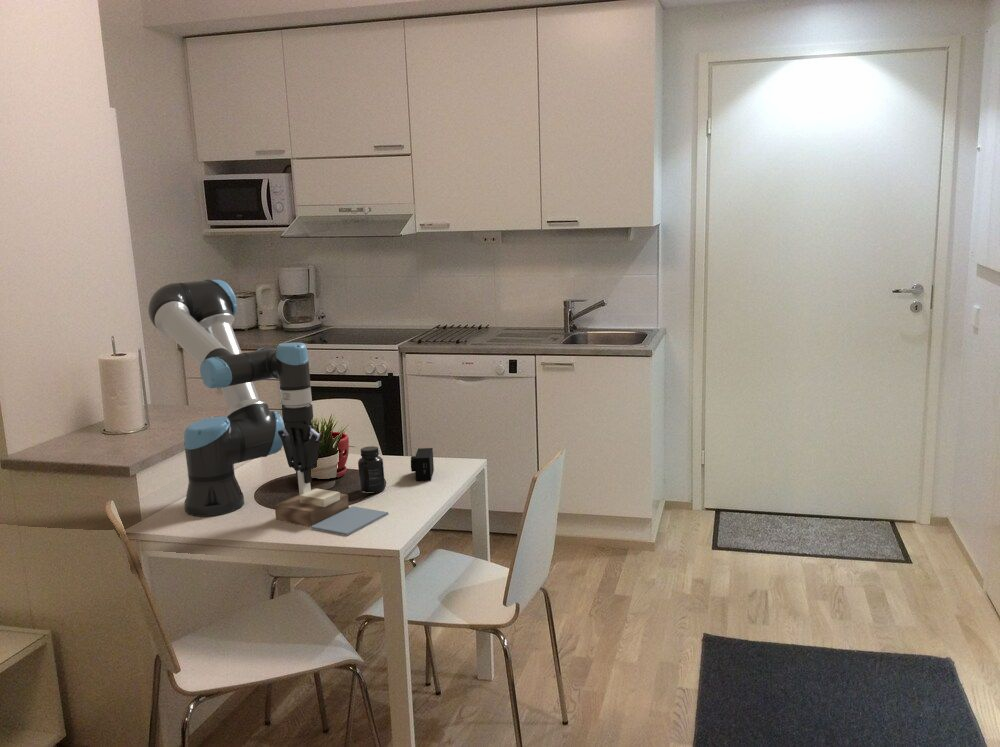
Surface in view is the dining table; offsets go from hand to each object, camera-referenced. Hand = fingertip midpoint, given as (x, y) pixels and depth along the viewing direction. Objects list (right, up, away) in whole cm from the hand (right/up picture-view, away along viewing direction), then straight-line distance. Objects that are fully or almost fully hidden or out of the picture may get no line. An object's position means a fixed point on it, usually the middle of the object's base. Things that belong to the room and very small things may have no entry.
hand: (305, 494), depth 228 cm
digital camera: (+28, +1, +29) cm, 40 cm away
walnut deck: (+2, -5, 0) cm, 6 cm away
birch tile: (+4, -1, -2) cm, 5 cm away
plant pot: (0, +1, +33) cm, 33 cm away
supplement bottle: (+15, -1, +18) cm, 23 cm away
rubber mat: (+13, -6, -6) cm, 15 cm away
